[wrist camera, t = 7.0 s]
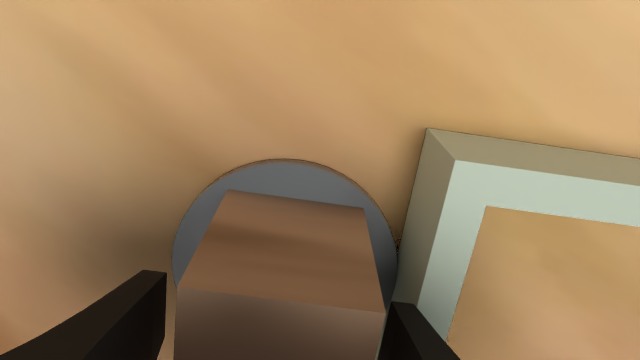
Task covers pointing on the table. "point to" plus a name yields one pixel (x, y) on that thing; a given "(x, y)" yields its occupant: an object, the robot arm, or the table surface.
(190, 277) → the block
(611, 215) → the green rectangular frame
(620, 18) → the table surface
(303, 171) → the coaster
